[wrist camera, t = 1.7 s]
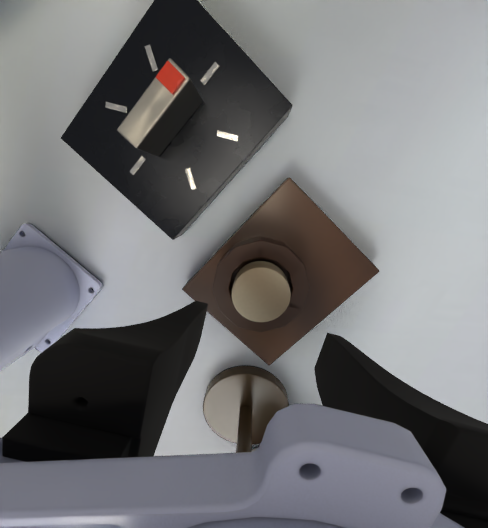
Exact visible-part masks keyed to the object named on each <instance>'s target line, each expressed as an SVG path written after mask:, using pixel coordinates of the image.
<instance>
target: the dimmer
mask: <svg viewBox="0 0 488 528" xmlns="http://www.w3.org/2000/svg"><path fill="white" fill-rule="evenodd" d="M169 58H171V59H172V60H173V61H174V62H175V63H176V64H177V65H178V66H179V67H180V68H181V69H182V70H183V71H184V72H185V73H186V74H187V75H188V76H189V78H190V79H191V81H192V83H193V84H194V86H195V88H196V90H197V91H198V93H199V95H200V96H201V98H202V100H203V102H202V103H201V104H200V106H199V107H198V108H197V109H196V111H195V112H194V113H193V114H192V116H191V117H190V118H189V119H188V121H187V122H186V123H185V124H184V126H183V127H182V128H181V129H180V131H179V132H178V133H177V134H176V136H175V137H174V138H173V139H172V141H171V142H170V143H169V144H168V146H167V147H166V148H165V149H164V151H163V152H162V153H161V154H160V156H156V155H153V154H150V153H148V152H145V151H142V150H140V149H137V148H135V147H134V146H133V145H132V144H131V143H130V142H129V141H128V140H127V139H126V138H124V137H123V136H122V135H121V134H120V133H119V132H118V130H117V129H118V127H119V126H120V125H121V123H122V122H123V121H124V119H125V118H126V117H127V115H128V114H129V112H130V111H131V110H132V108H133V107H134V106H135V104H136V103H137V102H138V100H139V99H140V97H141V96H142V95H143V93H144V92H145V91H146V89H147V88H148V87H149V85H150V84H151V83H152V81H153V80H154V78H155V77H156V76H157V74H158V73H159V72H160V70H161V69H162V68H163V66H164V65H165V63H166V62H167V61H168V59H169ZM291 108H292V104H291V103H290V102H289V101H288V100H287V99H286V98H285V96H284V95H283V94H282V93H281V92H280V91H279V90H278V89H277V88H276V87H275V86H274V84H273V83H272V82H271V81H270V80H269V79H268V78H267V77H266V76H265V75H264V73H263V72H262V71H261V70H260V69H259V68H258V67H257V66H256V65H255V64H254V62H253V61H252V60H251V59H250V58H249V57H248V56H247V55H246V54H245V53H244V52H243V50H242V49H241V48H240V47H239V46H238V45H237V44H236V43H235V42H234V41H233V39H232V38H231V37H230V36H229V35H228V34H227V33H226V32H225V31H224V30H223V28H222V27H221V26H220V25H219V24H218V23H217V22H216V21H215V20H214V19H213V17H212V16H211V15H210V14H209V13H208V12H207V11H206V10H205V9H204V8H203V7H202V5H201V4H200V3H199V2H198V1H197V0H154V2H153V3H152V5H151V6H150V8H149V9H148V11H147V12H146V14H145V15H144V17H143V18H142V20H141V21H140V22H139V24H138V25H137V27H136V28H135V30H134V31H133V33H132V34H131V36H130V37H129V39H128V40H127V42H126V43H125V44H124V46H123V47H122V49H121V50H120V52H119V53H118V55H117V56H116V58H115V59H114V61H113V62H112V63H111V65H110V66H109V68H108V69H107V71H106V72H105V74H104V75H103V77H102V78H101V80H100V81H99V83H98V84H97V85H96V87H95V88H94V90H93V91H92V93H91V94H90V96H89V97H88V99H87V100H86V102H85V103H84V105H83V106H82V107H81V109H80V110H79V112H78V113H77V115H76V116H75V118H74V119H73V121H72V122H71V124H70V125H69V127H68V128H67V129H66V131H65V132H64V134H63V135H62V137H61V139H62V140H63V141H64V142H66V143H67V144H68V145H69V146H70V147H71V148H72V149H73V150H74V151H75V152H77V153H78V154H79V155H80V156H81V157H82V158H83V159H84V160H85V161H87V162H88V163H89V164H90V165H91V166H92V167H93V168H94V169H95V170H96V171H98V172H99V173H100V174H101V175H102V176H103V177H104V178H105V179H106V180H107V181H109V182H110V183H111V184H112V185H113V186H114V187H115V188H116V189H117V190H119V191H120V192H121V193H122V194H123V195H124V196H125V197H126V198H127V199H128V200H130V201H131V202H132V203H133V204H134V205H135V206H136V207H137V208H138V209H139V210H141V211H142V212H143V213H144V214H145V215H146V216H147V217H148V218H149V219H151V220H152V221H153V222H154V223H155V224H156V225H157V226H158V227H159V228H160V229H162V230H163V231H164V232H165V233H166V234H167V235H168V236H169V237H170V238H171V239H175V238H177V237H179V236H181V235H182V234H183V233H184V232H185V231H186V230H187V229H188V228H189V227H190V226H191V224H192V223H193V222H194V221H195V220H196V219H197V218H198V217H199V215H200V214H201V213H202V212H203V211H204V210H205V209H206V208H207V207H208V205H209V204H210V203H211V202H212V201H213V200H214V199H215V198H216V196H217V195H218V194H219V193H220V192H221V191H222V190H223V189H224V188H225V186H226V185H227V184H228V183H229V182H230V181H231V180H232V179H233V178H234V176H235V175H236V174H237V173H238V172H239V171H240V170H241V169H242V167H243V166H244V165H245V164H246V163H247V162H248V161H249V160H250V159H251V157H252V156H253V155H254V154H255V153H256V152H257V151H258V150H259V149H260V147H261V146H262V145H263V144H264V143H265V142H266V141H267V140H268V138H269V137H270V136H271V135H272V134H273V133H274V132H275V131H276V130H277V128H278V127H279V126H280V125H281V124H282V123H283V122H284V121H285V119H286V118H287V117H288V115H289V113H290V110H291Z"/></svg>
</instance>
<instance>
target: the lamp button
mask: <svg viewBox="0 0 488 528" xmlns="http://www.w3.org/2000/svg"><path fill="white" fill-rule="evenodd" d="M290 297H291V292H290V287H289V284H288V281H287V279H286V276H285V274H284V273H283V271H282V270H281V269H280V268H279V267H278V266H276V265H274V264H272V263H270V262H266V261H256V262H252V263H249V264H247V265H245V266H244V267H243V268H242V269H241V270H240V271H239V272H238V273H237V275H236V277H235V280H234V284H233V288H232V301H233V304H234V306H235V308H236V310H237V311H238V312H239V313H240V314H241V315H242V316H243V317H245V318H246V319H248V320H251V321H255V322H268V321H271V320H274V319H276V318H278V317H279V316H280V315H282V314H283V313H284V311H285V310H286V309H287V307H288V305H289V302H290Z"/></svg>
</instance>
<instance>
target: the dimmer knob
mask: <svg viewBox="0 0 488 528" xmlns="http://www.w3.org/2000/svg"><path fill="white" fill-rule="evenodd" d="M202 102H203V100H202V98H201V96H200V95H199V93H198V91H197V90H196V88H195V86H194V84H193V83H192V81H191V79H190V78H189V76H188V75H187V74H186V73H185V72H184V71H183V70H182V69H181V68H180V67H179V66H178V65H177V64H176V63H175V62H174V61H173V60H172V59H171V58H169V59H168V61H167V62H166V63H165V65H164V66H163V68H162V69H161V70H160V72H159V73H158V74H157V76H156V77H155V78H154V80H153V81H152V83H151V84H150V85H149V87H148V88H147V89H146V91H145V92H144V93H143V95H142V96H141V97H140V99H139V100H138V102H137V103H136V104H135V106H134V107H133V108H132V110H131V111H130V112H129V114H128V115H127V117H126V118H125V119H124V121H123V122H122V123H121V125H120V126H119V127H118V129H117V130H118V132H119V133H120V134H121V135H122V136H123V137H124V138H126V139H127V140H128V141H129V142H130V143H131V144H132V145H133V146H134V147H135V148H137V149H140V150H142V151H145V152H148V153H150V154H153V155H156V156H160V154H161V153H162V152H163V151H164V149H165V148H166V147H167V146H168V144H169V143H170V142H171V141H172V139H173V138H174V137H175V136H176V134H177V133H178V132H179V131H180V129H181V128H182V127H183V126H184V124H185V123H186V122H187V121H188V119H189V118H190V117H191V116H192V114H193V113H194V112H195V111H196V109H197V108H198V107H199V106H200V104H201V103H202Z"/></svg>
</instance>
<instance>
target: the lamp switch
mask: <svg viewBox="0 0 488 528" xmlns="http://www.w3.org/2000/svg"><path fill="white" fill-rule="evenodd" d="M256 261H266V262H270V263H272V264H274V265H276V266H278V267H279V268H280V269H281V270H282V271H283V273H284V274H285V276H286V279H287V281H288V284H289V287H290V292H291V297H290V302H289V305H288V307H287V309H286V310H285V311H284V313H283V314H282V315H280V316H279V317H278V318H276V319H274V320H271V321H268V322H255V321H251V320H248V319H246V318H245V317H243V316H242V315H241V314H240V313H239V312H238V311H237V310H236V308H235V306H234V304H233V301H232V288H233V284H234V280H235V277H236V275H237V273H238V272H239V271H240V270H241V269H242V268H243V267H244V266H245V265H247V264H249V263H252V262H256ZM378 272H379V270H378V269H377V268H376V266H375V265H374V264H373V263H372V262H371V261H370V260H369V259H368V258H367V257H366V256H365V255H364V254H363V253H362V252H361V251H360V250H359V249H358V248H357V247H356V246H355V245H354V244H353V243H352V242H351V241H350V239H349V238H348V237H347V236H346V235H345V234H344V233H343V232H342V231H341V230H340V229H339V228H338V227H337V226H336V225H335V224H334V223H333V222H332V221H331V220H330V219H329V218H328V217H327V216H326V215H325V214H324V212H323V211H322V210H321V209H320V208H319V207H318V206H317V205H316V204H315V203H314V202H313V201H312V200H311V199H310V198H309V197H308V196H307V195H306V194H305V193H304V192H303V191H302V190H301V189H300V188H299V187H298V185H297V184H296V183H295V182H294V181H293V180H292V179H291V178H287V179H286V180H285V181H284V182H283V183H282V184H281V185H280V186H279V187H278V188H277V189H276V190H275V191H274V192H273V193H272V195H271V196H270V197H269V198H268V199H267V200H266V201H265V202H264V203H263V204H262V205H261V206H260V207H259V208H258V209H257V210H256V211H255V212H254V213H253V214H252V215H251V217H250V218H249V219H248V220H247V221H246V222H245V223H244V224H243V225H242V226H241V227H240V228H239V229H238V230H237V231H236V232H235V233H234V234H233V235H232V236H231V238H230V239H229V240H228V241H227V242H226V243H225V244H224V245H223V246H222V247H221V248H220V249H219V250H218V251H217V252H216V253H215V254H214V255H213V256H212V257H211V258H210V260H209V261H208V262H207V263H206V264H205V265H204V266H203V267H202V268H201V269H200V270H199V271H198V272H197V273H196V274H195V275H194V276H193V277H192V278H191V279H190V280H189V282H188V283H187V284H186V285H185V286H184V287H183V291H185V292H186V293H187V294H188V295H189V296H190V297H191V298H193V299H194V300H195V301H199V302H203V303H207V304H208V307H207V312H209V313H210V314H211V315H212V316H213V317H214V318H215V319H216V320H218V321H219V322H220V323H221V324H222V325H223V326H224V327H226V328H227V329H228V330H229V331H230V332H231V333H232V334H234V335H235V336H236V337H237V338H238V339H239V340H240V341H242V342H243V343H244V344H245V345H246V346H247V347H248V348H250V349H251V350H252V351H253V352H254V353H255V354H256V355H258V356H259V357H260V358H261V359H262V360H263V361H264V362H266V363H267V364H268V365H270V364H272V363H273V362H274V361H275V360H276V359H277V358H279V357H280V356H281V355H282V354H283V353H284V352H286V351H287V350H288V349H289V348H290V347H291V346H293V345H294V344H295V343H296V342H297V341H299V340H300V339H301V338H302V337H303V336H304V335H306V334H307V333H308V332H309V331H310V330H311V329H313V328H314V327H315V326H316V325H317V324H318V323H320V322H321V321H322V320H323V319H324V318H325V317H327V316H328V315H329V314H330V313H331V312H332V311H334V310H335V309H336V308H337V307H338V306H339V305H341V304H342V303H343V302H344V301H345V300H346V299H348V298H349V297H350V296H351V295H352V294H353V293H355V292H356V291H357V290H358V289H359V288H361V287H362V286H363V285H364V284H365V283H366V282H368V281H369V280H370V279H371V278H372V277H373V276H375V275H376V274H377V273H378Z"/></svg>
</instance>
